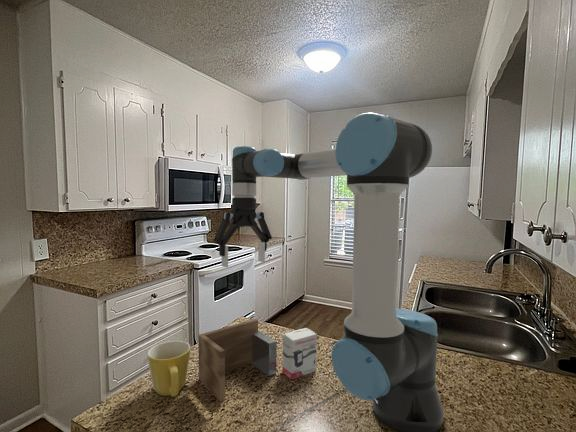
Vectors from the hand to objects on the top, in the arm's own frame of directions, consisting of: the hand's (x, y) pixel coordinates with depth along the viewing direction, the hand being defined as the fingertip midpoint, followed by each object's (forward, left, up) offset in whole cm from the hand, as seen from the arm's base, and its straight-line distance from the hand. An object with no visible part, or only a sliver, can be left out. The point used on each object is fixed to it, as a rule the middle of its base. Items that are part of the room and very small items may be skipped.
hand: (243, 263), depth 101 cm
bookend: (-15, +3, -27) cm, 31 cm away
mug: (-8, +27, -28) cm, 40 cm away
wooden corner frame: (-15, +10, -28) cm, 33 cm away
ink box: (-22, -4, -28) cm, 36 cm away
